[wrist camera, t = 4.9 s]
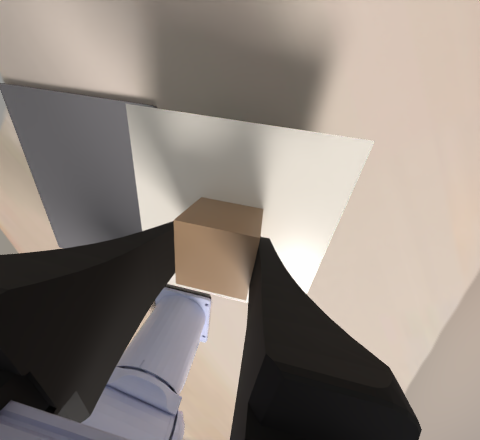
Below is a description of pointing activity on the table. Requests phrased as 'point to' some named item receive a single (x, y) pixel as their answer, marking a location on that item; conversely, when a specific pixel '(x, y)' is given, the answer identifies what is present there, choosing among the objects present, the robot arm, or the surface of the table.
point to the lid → (240, 193)
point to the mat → (78, 162)
